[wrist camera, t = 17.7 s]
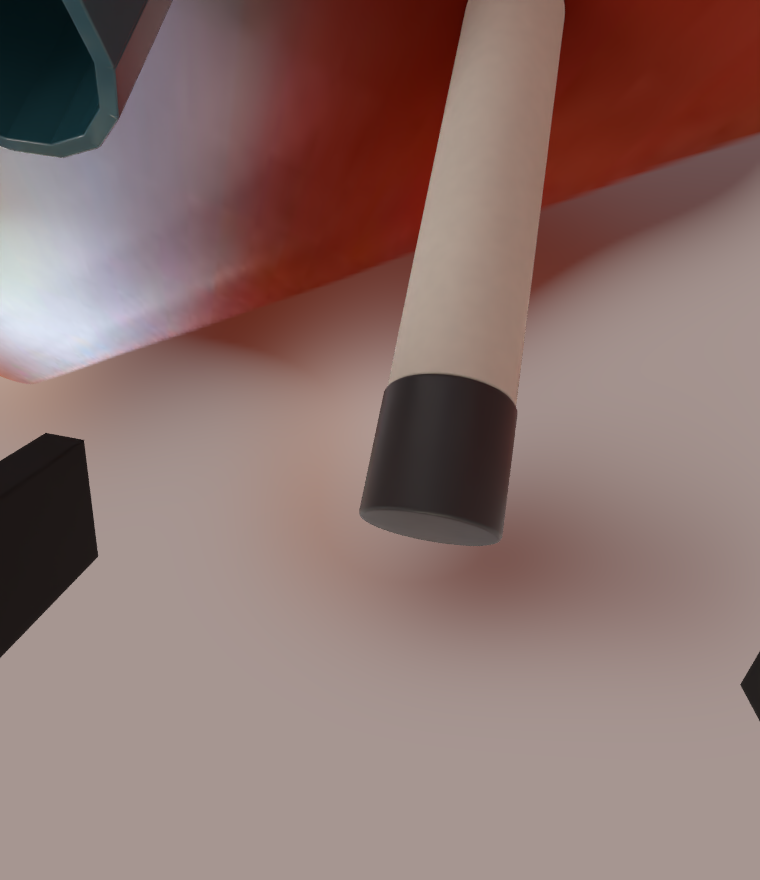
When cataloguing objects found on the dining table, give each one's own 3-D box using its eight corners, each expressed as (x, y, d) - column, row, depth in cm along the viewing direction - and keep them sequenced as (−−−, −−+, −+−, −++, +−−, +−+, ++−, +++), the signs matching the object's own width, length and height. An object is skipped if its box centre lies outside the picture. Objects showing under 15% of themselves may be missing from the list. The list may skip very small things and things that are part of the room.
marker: (457, 60, 19) (361, 528, 14) (470, -46, 16) (354, 500, 11) (550, 72, 19) (487, 552, 13) (581, -33, 16) (516, 530, 11)
